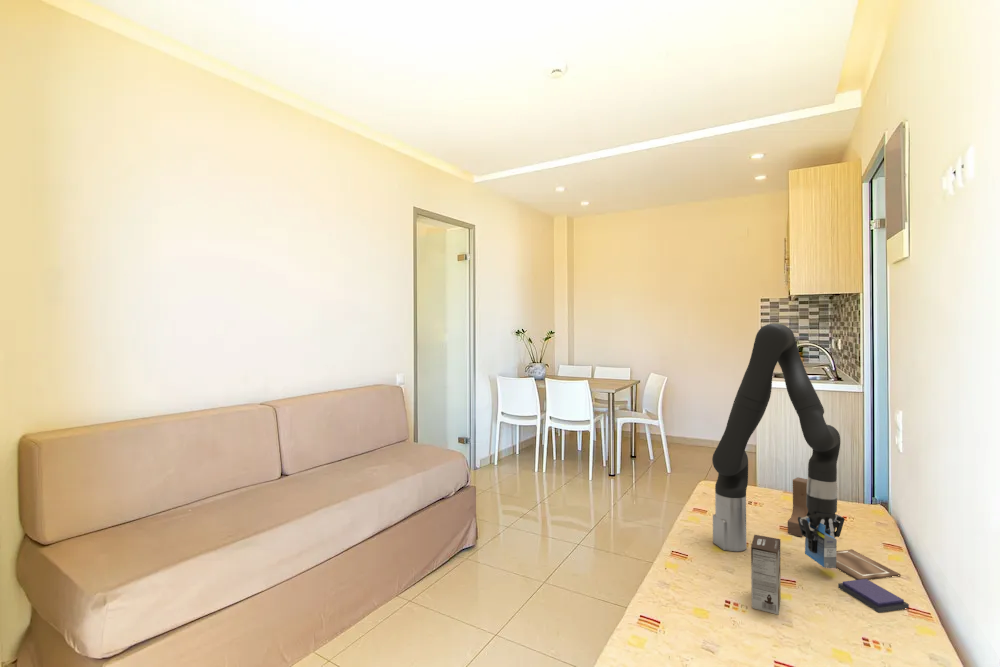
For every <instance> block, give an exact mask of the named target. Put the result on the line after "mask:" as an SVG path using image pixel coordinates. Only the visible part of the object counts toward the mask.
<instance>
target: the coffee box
mask: <svg viewBox="0 0 1000 667" xmlns="http://www.w3.org/2000/svg"><path fill="white" fill-rule="evenodd" d="M750 556H751V557H750V559H751V560H750V564H751V566H750V567H751V570H750V572H751V573H750V575H751V577H750V578H751V582H750V583H751V608H752V609H756V610H758V611H763V612H766V613H771V614H774V615H779V614H780V607H781V599H782V597H781V595H782V593H781V589H782V588H781V586H782V585H781V583H782V582H781V580H782V579H781V578H782V576H781V574H782V573H781V539H780V538H777V537H771V536H765V535H759V534H754V535H753V538H752V543H751V546H750Z"/></svg>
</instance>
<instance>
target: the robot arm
mask: <svg viewBox="0 0 1000 667" xmlns="http://www.w3.org/2000/svg"><path fill="white" fill-rule="evenodd" d="M753 342H754V343H753V347H752V351H751V356H750V360H749V363H748V365H747V368H746V369H745V372H744V374H743V378H742V379H741V382H740V385H739V387H738V388H737V389H738V390H737V392H736V395H735V398H734V400H733V404H732V406H731V409H730V413H729V416H728V420H727V422H726V426H725V429H724V432H723V434H722V436H721V438H720V440H719V442H718V444H717V447H716V448H715V450H714V452H713V455H712V461H711V462H712V465H713V468H714V470H715V471H716V472H717V473H718V474H717V479H716V482H715V488H714V491H715V492H714V494H715V495H714V496H715V497H714V498H715V500H714V501H715V502H714V505H715V507H714V508H715V509H714V510H715V514H712V543H713V544H715V545H716V546H717V547H719V548H720V549H721V550H722V551H730V552H743V551H745V550H747V487H748V486H749V485H748V484H749V457H748V454H747V452H746V451H745V450H746V448H747V445H748V442H749V440H750V439H751V436H752V435H753V433H754V432H755V430H756V429H757V427H758V425H759V424H760V422H761V420H762V419H763V417H764V415H765V413H766V410H767V407H768V405H769V402H770V399H771V395H772V387H773V376H774V370H775V368H776V366H777V363H778V366H779V367H780V369H781V372H782V375H783V379H784V382H785V387H786V391H787V393H788V394H787V395H788V397H789V399H790V402H791V404H792V406H793V408H794V410H795V412H796V415H797V416H798V419H799V425H800V428H801V432H802V435H803V437H804V440H805V442H806V443H807V445H808V446H809V447H810V448H811V449H812V455H811V457H810V458H809V459H808V464H807V479H808V480H807V495H806V506H807V508H808V513H807V515H806V517H803V518H801V517H798V522H799V526H800V530H801V534H802V537H806V538H808V548H809V550H810V551H811V552H813V553H817V541H816V540H817V538H818V534H819V526H820V523H822V524H823V525H825V532H826V533H827V534H829V535H830V536H832V537H833V538H835V539H836V538H840V536H841V533H842V530H843V525H844V522H845V517H843V516H841V515H839V514H836V513H837V512H838V482H837V480H838V479H837V477H838V476H837V475H838V469H837V468H838V465H837V464H838V461H839V460H838V459H839V454H840V450H841V436H840V432H839V431H838V430H837V429H836V428H835V427H834V426H832V425H831V424H827V422H826V420H825V418H824V414H825V408H824V406H823V403H822V402H821V400H820V398H819V395H818V393H817V392H816V390H815V388H814V386H813V384H812V382H811V380H810V377H809V375H808V373H807V370H806V369H805V366H804V363H803V361H802V357H801V354H800V352H799V347H798V344H797V340H796V336H795V333H794V332H793V330H792V329H791V328H790V327H788V326H786V325H784V324H782V323H781V324H780V323H768V324H765V325H763V326H762V327H760V329H759V330H758V331H757V333H756V334H755V338H754V341H753ZM813 527H815V528H816V529H814V528H813ZM813 532H814V534H813ZM812 534H813V535H812Z"/></svg>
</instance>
